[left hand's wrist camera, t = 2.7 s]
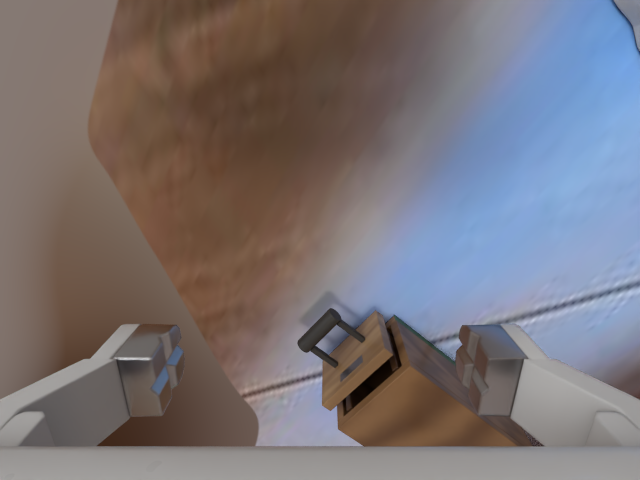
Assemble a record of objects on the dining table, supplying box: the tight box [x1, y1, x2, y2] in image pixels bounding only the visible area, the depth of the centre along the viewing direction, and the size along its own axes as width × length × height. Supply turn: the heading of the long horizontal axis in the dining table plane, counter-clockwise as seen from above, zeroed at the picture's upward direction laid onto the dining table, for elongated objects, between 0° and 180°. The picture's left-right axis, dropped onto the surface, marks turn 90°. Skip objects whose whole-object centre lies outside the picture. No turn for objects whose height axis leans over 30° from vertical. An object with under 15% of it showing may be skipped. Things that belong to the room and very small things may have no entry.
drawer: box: [298, 308, 402, 412], centre depth 42 cm, size 24×10×7 cm, turn 50°
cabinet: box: [337, 315, 532, 446], centre depth 43 cm, size 20×11×9 cm, turn 50°
